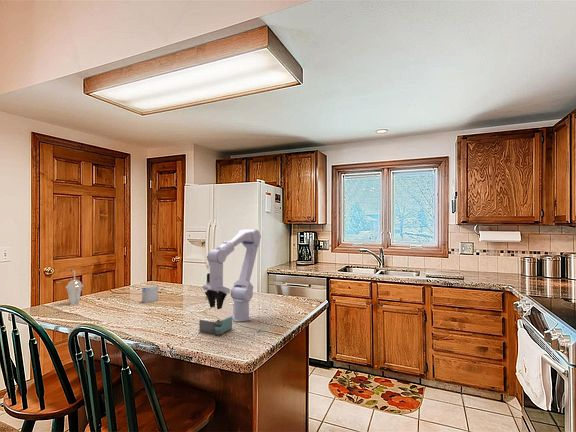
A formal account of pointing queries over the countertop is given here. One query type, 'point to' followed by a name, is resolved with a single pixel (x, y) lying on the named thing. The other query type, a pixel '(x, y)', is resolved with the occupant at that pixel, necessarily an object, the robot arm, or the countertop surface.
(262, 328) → the mounting bracket
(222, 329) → the teal swing leaf
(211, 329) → the fixed steel leaf
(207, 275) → the grey container
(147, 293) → the medicine box
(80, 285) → the cup with straw
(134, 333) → the countertop surface
